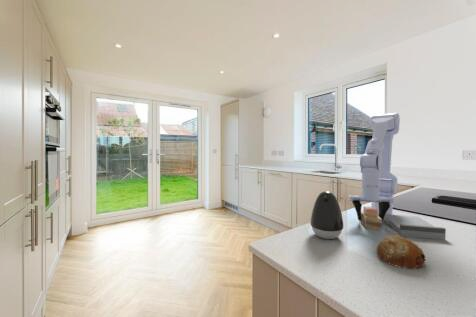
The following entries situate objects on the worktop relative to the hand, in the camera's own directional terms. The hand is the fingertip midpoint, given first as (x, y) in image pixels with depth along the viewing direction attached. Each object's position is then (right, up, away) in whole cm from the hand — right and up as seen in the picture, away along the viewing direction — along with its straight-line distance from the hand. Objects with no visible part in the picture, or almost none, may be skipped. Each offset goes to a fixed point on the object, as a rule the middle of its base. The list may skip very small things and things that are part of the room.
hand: (369, 220), depth 84 cm
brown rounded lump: (-8, -3, -26) cm, 27 cm away
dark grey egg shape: (-21, -3, -10) cm, 23 cm away
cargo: (0, +2, 0) cm, 2 cm away
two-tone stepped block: (0, -2, 0) cm, 2 cm away
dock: (+12, -2, -4) cm, 13 cm away
